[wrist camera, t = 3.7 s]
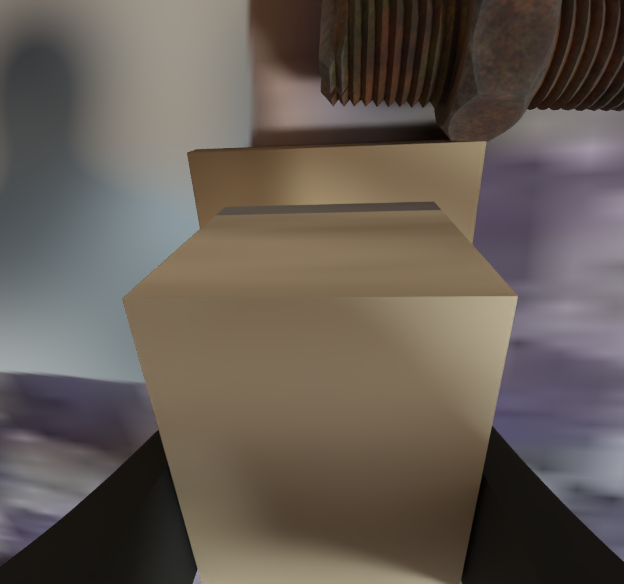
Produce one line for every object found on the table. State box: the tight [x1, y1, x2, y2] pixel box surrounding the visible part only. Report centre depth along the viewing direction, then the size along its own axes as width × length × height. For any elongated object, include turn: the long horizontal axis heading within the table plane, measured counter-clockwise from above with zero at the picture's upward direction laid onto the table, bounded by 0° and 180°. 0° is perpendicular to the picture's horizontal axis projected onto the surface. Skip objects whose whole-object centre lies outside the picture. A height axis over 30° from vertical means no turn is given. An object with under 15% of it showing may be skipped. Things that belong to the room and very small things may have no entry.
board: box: [187, 140, 486, 244], centre depth 17 cm, size 16×10×1 cm, turn 3°
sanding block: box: [122, 201, 518, 584], centre depth 9 cm, size 9×5×5 cm, turn 3°
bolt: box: [319, 0, 624, 141], centre depth 11 cm, size 6×5×15 cm
